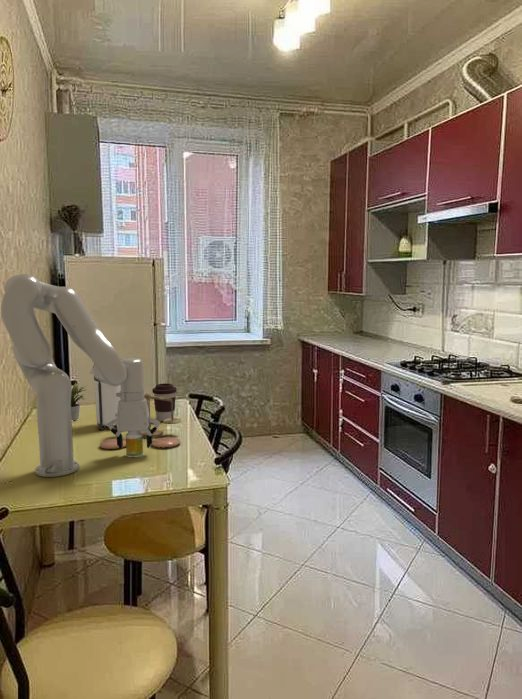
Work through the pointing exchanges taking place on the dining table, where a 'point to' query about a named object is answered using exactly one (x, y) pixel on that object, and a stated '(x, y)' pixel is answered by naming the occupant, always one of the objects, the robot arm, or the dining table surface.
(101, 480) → the dining table surface
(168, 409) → the coffee cup
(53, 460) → the robot arm
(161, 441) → the tan flat disc
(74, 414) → the house plant
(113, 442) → the pink disc
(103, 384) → the coffee press
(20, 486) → the dining table surface
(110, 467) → the dining table surface
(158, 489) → the dining table surface
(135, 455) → the supplement bottle
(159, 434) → the balance
